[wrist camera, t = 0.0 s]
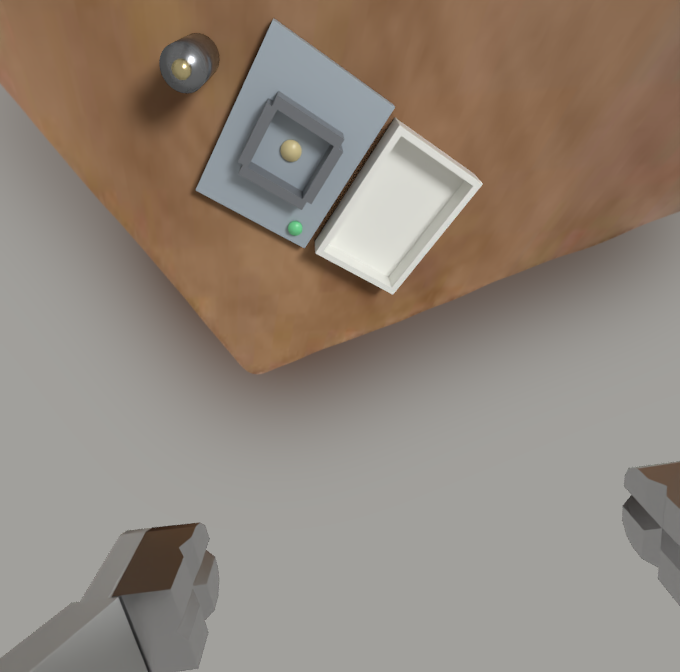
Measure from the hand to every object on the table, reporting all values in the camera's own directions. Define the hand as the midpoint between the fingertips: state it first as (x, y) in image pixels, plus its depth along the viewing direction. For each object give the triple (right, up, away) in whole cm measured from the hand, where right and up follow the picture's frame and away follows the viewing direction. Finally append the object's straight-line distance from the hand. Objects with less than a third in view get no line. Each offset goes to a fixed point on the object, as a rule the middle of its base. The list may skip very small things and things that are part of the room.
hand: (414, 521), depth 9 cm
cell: (-16, +33, +39) cm, 54 cm away
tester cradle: (-7, +26, +45) cm, 53 cm away
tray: (+5, +20, +51) cm, 55 cm away
